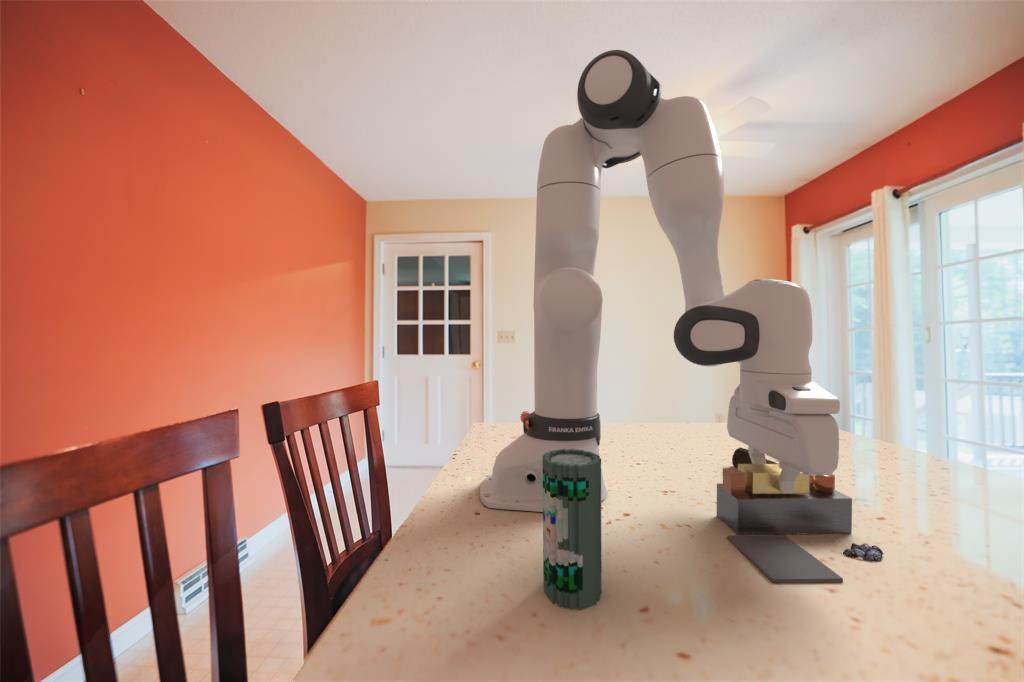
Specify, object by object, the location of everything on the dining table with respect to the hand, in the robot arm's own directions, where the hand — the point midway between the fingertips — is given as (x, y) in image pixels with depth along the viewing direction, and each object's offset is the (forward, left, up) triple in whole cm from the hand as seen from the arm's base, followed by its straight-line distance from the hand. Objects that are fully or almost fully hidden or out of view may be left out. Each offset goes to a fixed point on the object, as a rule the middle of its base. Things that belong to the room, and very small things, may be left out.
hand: (772, 484), depth 61 cm
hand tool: (+11, +17, -6) cm, 21 cm away
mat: (-5, -9, -6) cm, 12 cm away
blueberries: (+7, -8, -7) cm, 12 cm away
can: (-32, -15, -6) cm, 36 cm away
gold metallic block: (0, 0, -1) cm, 1 cm away
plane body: (+1, 0, -6) cm, 6 cm away
